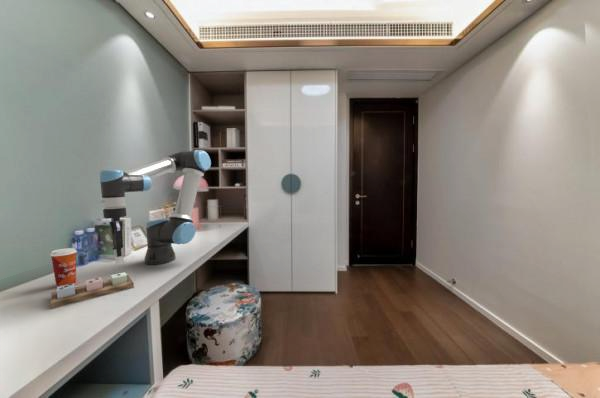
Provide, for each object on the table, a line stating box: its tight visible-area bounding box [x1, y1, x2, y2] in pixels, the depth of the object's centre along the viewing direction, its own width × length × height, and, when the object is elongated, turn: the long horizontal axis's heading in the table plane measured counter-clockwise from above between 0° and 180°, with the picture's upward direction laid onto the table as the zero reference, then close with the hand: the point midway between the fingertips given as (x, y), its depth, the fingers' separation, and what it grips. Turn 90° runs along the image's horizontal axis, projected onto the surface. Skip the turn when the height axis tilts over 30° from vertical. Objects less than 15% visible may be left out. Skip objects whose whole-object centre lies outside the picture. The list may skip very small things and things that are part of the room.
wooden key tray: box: [50, 274, 135, 309], centre depth 97 cm, size 24×12×2 cm, turn 134°
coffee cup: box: [49, 247, 78, 288], centre depth 104 cm, size 8×8×15 cm
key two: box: [85, 276, 103, 291], centre depth 96 cm, size 5×5×4 cm
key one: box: [110, 271, 128, 285], centre depth 102 cm, size 5×5×4 cm
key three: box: [56, 283, 76, 299], centre depth 91 cm, size 5×5×4 cm
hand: (119, 263), depth 102 cm, fingers closed
